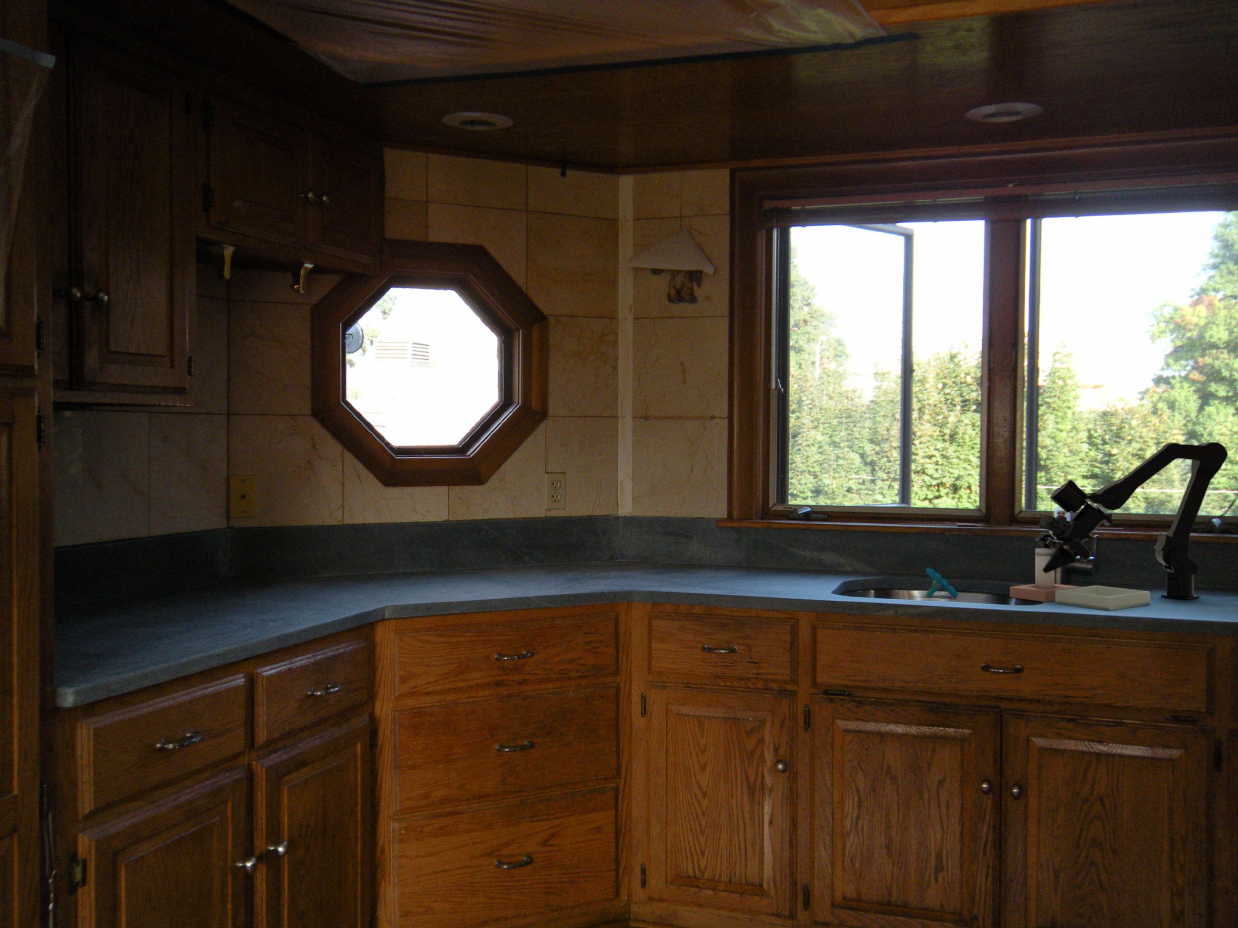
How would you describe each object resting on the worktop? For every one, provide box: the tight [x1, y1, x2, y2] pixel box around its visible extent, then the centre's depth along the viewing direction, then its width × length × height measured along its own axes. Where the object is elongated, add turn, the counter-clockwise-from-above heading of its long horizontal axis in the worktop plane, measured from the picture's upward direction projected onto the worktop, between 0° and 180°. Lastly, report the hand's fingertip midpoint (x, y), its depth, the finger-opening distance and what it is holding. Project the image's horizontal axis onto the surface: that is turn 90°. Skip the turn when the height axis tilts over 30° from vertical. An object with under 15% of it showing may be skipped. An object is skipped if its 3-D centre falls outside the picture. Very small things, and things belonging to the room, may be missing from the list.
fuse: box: [1034, 547, 1055, 589], centre depth 260 cm, size 4×4×12 cm
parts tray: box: [1054, 585, 1151, 611], centre depth 247 cm, size 16×14×3 cm
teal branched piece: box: [925, 567, 959, 598], centre depth 262 cm, size 11×6×10 cm
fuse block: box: [1009, 583, 1081, 603], centre depth 260 cm, size 14×10×2 cm
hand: (1039, 570), depth 259 cm, fingers closed on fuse, 4 cm apart
